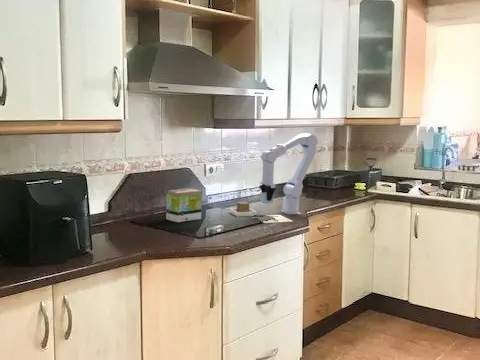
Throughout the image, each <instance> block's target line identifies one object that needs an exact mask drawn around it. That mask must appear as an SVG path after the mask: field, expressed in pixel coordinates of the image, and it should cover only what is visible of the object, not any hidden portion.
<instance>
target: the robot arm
mask: <svg viewBox="0 0 480 360" xmlns="http://www.w3.org/2000/svg"><path fill="white" fill-rule="evenodd" d="M318 144H319V140H318V137H317V136H316V134H314V133H313V134H312V133H305V132H302V133H300V134H297V135H296V136H295V137H293V138H292V139H290V140H289V141H287V142H285V143H284V144H283V143H276V146H274V147H271V148H269V150H264V151H263V152H262V154H261V155H260V159H261V160H262V179H260V182H259V183H260V185H259V186H258V187H259V189H260V191H261V192H266V194H267V201H271V200H272V196H273V197H274V193H275V191H276V190H277V187H276V184H275V183H274V182H275V181H274V170H275V169H274V168H275V161H277V159H278V158H280V157H281V156H283V155H286V154H287V151H288V150H289V149H293V148H294V147H297V146H299V145H300V146H301V147H302V148H303V151H304V153H303V155H302V157H301V160H300V161H299V163H298V166H297V168H296V170H295V172H294V174H293V176H292V178H291V179H289V180H288V181H287V182H286V184H285V185H284V186H283V188H282V189H283V191H282V192H283V194H284V197H283V198H282V202H281V203H282V204H281V205H282V206H281V207H282V209H281V210H280V212H282V213H285V215H286V214H287V215H302V213H301V212H299V203H300V197H301V195H302V193H303V188H304V185H303V180H304V178H305V176H306V174H307V172H308V170H309V168H310V166H311V164H312V161H313V159H314V158H315V155H316V153H317V145H318ZM261 192H260V193H261Z"/></svg>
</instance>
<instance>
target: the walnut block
mask: <svg viewBox="0 0 480 360" xmlns="http://www.w3.org/2000/svg"><path fill="white" fill-rule="evenodd" d="M236 208H237V212H249V208H250V203H249V202H247V201H236Z"/></svg>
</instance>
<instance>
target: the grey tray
mask: <svg viewBox="0 0 480 360" xmlns="http://www.w3.org/2000/svg"><path fill="white" fill-rule="evenodd" d="M229 214H232V215H234V216H236V217H238V218H239V217H252V216H254V215H257V216H258V212H257V211H256V210H254V209H252V208H250V207H249V212H237V207H234V208H229Z"/></svg>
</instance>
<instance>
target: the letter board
mask: <svg viewBox="0 0 480 360" xmlns="http://www.w3.org/2000/svg"><path fill="white" fill-rule="evenodd" d="M267 216H269V217H273V218H275V219H271V220H268V221H263V222H262V223H264V224H269V223H271V224H272V223H273V224H274V223H288V222H293V220H292V219H290V218H287V217H286V216H283V215H281V214H274V215H273V214H271V215H269V214H267Z"/></svg>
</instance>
